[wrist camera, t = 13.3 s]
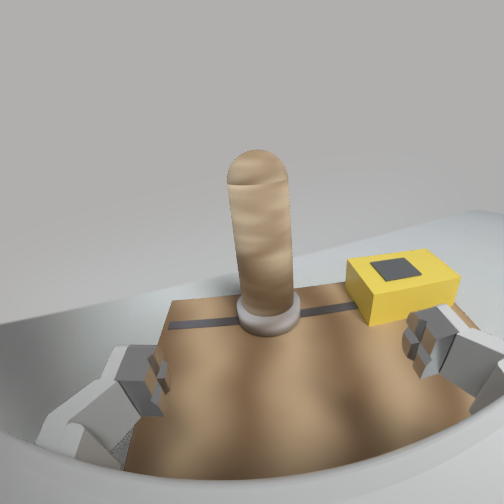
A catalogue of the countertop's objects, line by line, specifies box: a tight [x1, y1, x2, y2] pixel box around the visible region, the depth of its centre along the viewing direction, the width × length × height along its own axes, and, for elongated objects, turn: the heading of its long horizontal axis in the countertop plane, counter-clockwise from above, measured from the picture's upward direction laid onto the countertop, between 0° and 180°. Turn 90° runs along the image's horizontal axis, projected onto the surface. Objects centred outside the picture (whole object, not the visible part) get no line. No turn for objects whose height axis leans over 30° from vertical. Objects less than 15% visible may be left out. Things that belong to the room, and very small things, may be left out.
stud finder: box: [345, 249, 461, 327], centre depth 22 cm, size 9×6×3 cm, turn 93°
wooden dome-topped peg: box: [227, 150, 300, 337], centre depth 20 cm, size 5×5×13 cm
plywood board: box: [124, 282, 481, 480], centre depth 17 cm, size 26×20×2 cm
